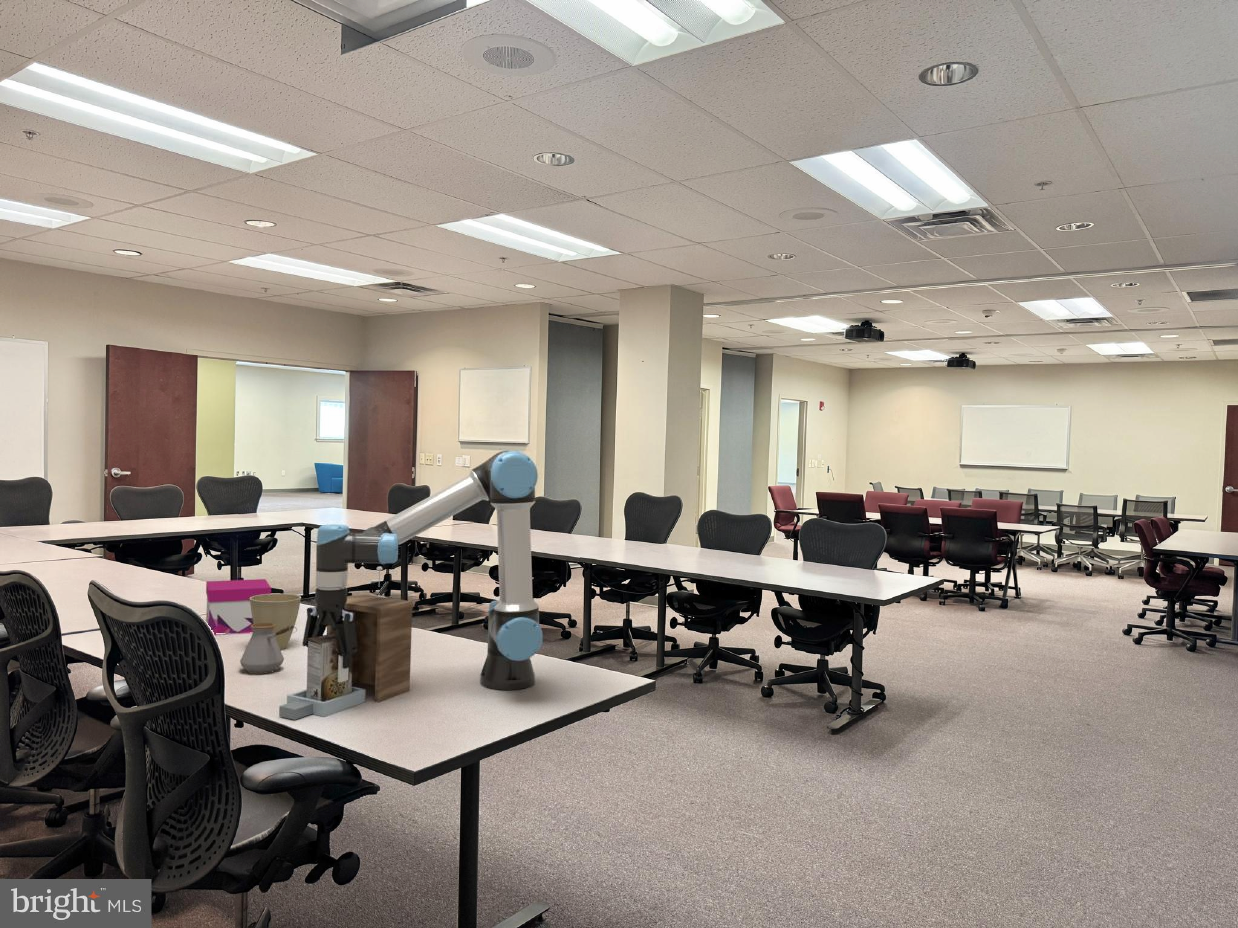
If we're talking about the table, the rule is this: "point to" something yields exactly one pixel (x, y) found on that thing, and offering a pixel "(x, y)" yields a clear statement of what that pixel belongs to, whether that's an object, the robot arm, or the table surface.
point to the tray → (319, 704)
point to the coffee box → (325, 669)
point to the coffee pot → (263, 649)
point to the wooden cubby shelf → (381, 643)
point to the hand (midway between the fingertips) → (328, 677)
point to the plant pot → (276, 613)
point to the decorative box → (232, 604)
